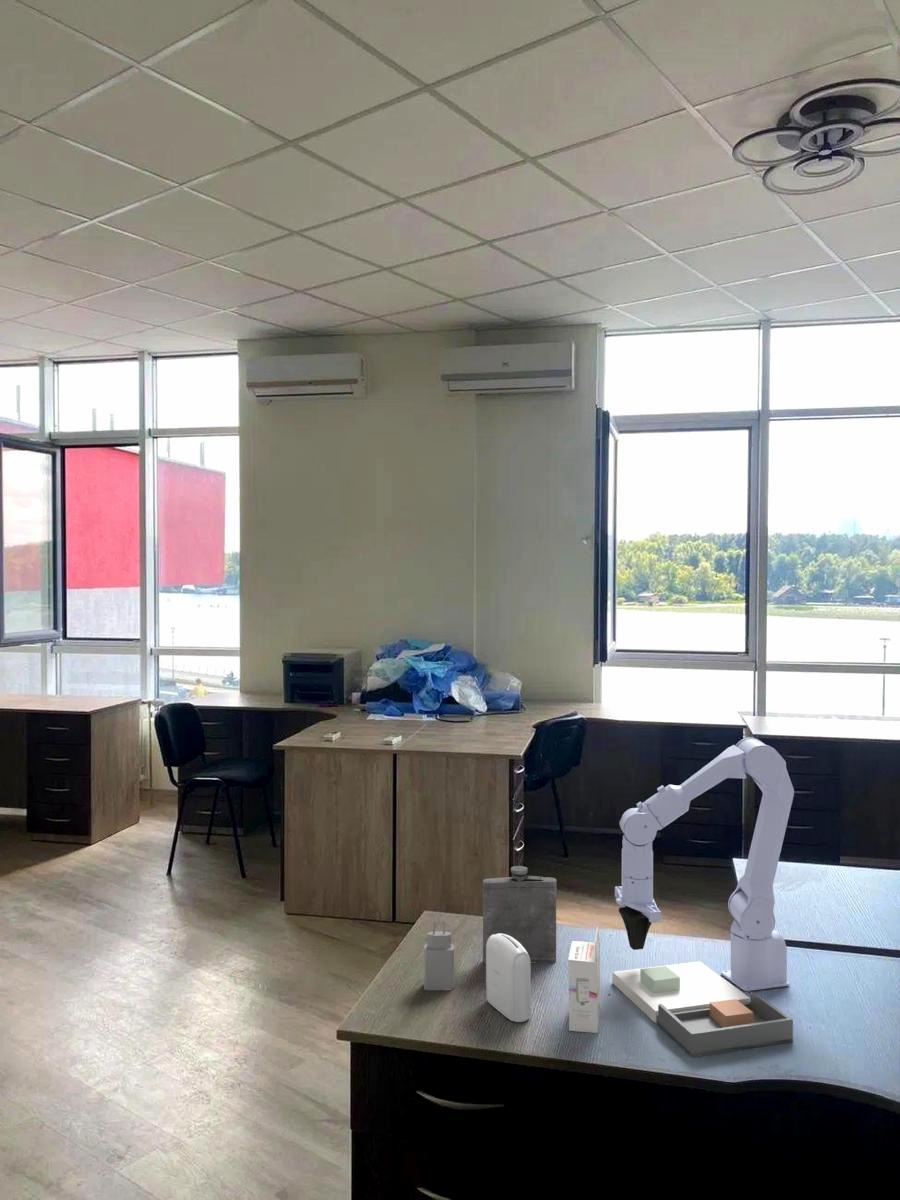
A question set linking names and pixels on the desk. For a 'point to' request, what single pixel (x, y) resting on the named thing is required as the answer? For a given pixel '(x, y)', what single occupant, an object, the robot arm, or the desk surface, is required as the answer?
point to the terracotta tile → (730, 1013)
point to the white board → (694, 990)
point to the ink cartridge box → (584, 985)
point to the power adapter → (438, 960)
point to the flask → (522, 912)
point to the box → (726, 1029)
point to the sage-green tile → (660, 979)
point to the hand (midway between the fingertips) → (636, 948)
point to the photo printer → (508, 977)
